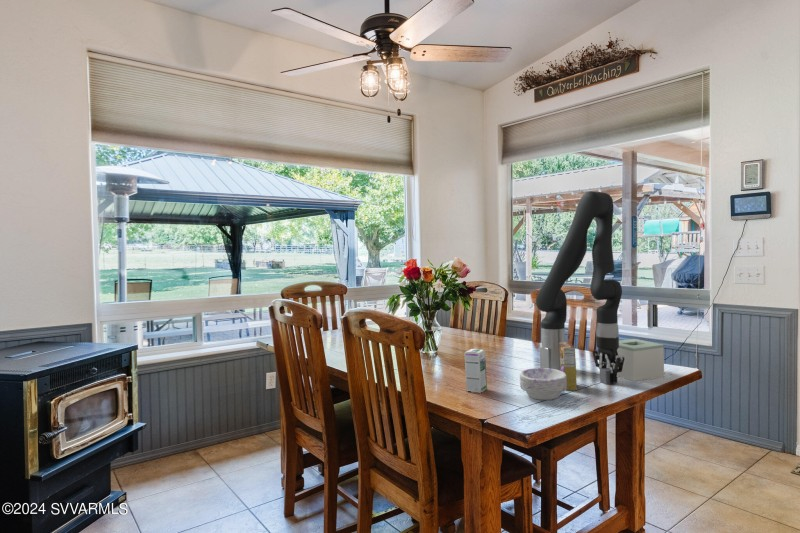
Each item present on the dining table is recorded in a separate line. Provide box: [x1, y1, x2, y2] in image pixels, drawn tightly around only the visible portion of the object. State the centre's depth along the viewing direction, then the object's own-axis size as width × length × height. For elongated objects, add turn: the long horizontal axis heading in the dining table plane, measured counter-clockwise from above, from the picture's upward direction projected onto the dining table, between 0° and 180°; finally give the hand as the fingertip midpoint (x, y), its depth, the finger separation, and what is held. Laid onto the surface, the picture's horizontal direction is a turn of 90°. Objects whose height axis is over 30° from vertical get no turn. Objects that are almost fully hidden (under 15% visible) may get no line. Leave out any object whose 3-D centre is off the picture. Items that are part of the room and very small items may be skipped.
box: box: [607, 338, 665, 382], centre depth 185 cm, size 14×14×12 cm
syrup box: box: [464, 348, 488, 394], centre depth 173 cm, size 6×6×14 cm
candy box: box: [559, 341, 578, 391], centre depth 173 cm, size 9×4×15 cm, turn 171°
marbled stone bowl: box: [519, 367, 567, 401], centre depth 164 cm, size 15×15×8 cm
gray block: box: [599, 368, 618, 385], centre depth 176 cm, size 5×3×5 cm, turn 108°
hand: (608, 381), depth 176 cm, fingers open, 4 cm apart
